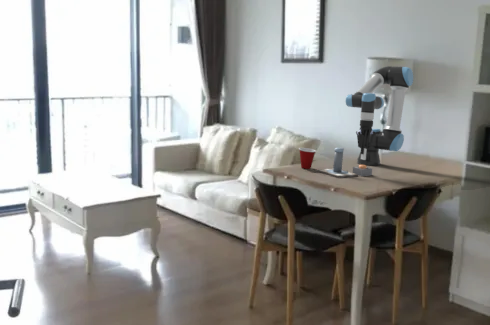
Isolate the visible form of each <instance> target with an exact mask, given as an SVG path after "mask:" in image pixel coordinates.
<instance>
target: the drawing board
mask: <svg viewBox="0 0 490 325" xmlns="http://www.w3.org/2000/svg"><path fill="white" fill-rule="evenodd" d="M316 172H318V173H321V174H323V175H326V176H330V177H334V178H336V179H341V178H355V177H359V175H357V174H354V173H353V172H350V171H347V170H343V169H342V172H340V173H338V172H333V168H322V169H316Z"/></svg>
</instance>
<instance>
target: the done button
mask: <svg viewBox="0 0 490 325" xmlns="http://www.w3.org/2000/svg"><path fill="white" fill-rule="evenodd" d="M358 167H359V168H361V169H366V167H368V165H363V164H359V165H358Z"/></svg>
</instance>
